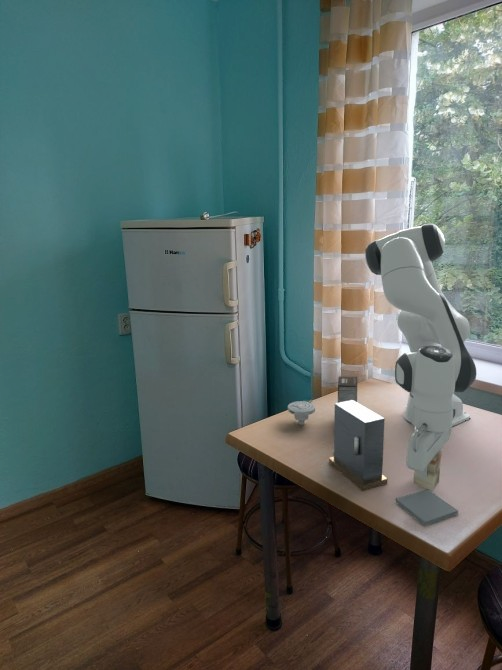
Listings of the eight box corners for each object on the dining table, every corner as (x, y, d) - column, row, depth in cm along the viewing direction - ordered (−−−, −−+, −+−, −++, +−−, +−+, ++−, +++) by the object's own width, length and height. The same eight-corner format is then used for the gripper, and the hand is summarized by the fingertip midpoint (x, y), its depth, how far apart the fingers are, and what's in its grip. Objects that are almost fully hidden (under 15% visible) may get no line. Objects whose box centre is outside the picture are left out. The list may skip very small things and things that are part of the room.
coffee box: (337, 418, 162) (338, 375, 159) (356, 419, 161) (357, 376, 157) (337, 430, 154) (337, 384, 150) (356, 431, 152) (357, 385, 149)
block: (419, 475, 113) (422, 446, 111) (439, 481, 110) (441, 451, 108) (413, 484, 109) (415, 453, 107) (432, 490, 107) (435, 459, 105)
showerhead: (322, 403, 158) (302, 411, 152) (321, 422, 160) (302, 431, 153) (302, 396, 165) (282, 403, 159) (302, 414, 167) (282, 423, 160)
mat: (427, 492, 118) (427, 488, 117) (457, 514, 109) (458, 510, 108) (395, 502, 114) (395, 498, 114) (424, 525, 105) (425, 521, 105)
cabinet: (352, 456, 136) (353, 398, 132) (387, 483, 122) (390, 419, 118) (328, 462, 133) (329, 403, 129) (361, 491, 119) (363, 425, 115)
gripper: (430, 437, 96) (426, 496, 99) (458, 406, 111) (453, 458, 115) (400, 429, 100) (397, 486, 103) (431, 400, 115) (428, 450, 118)
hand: (427, 471), depth 109 cm, fingers closed on block, 4 cm apart
